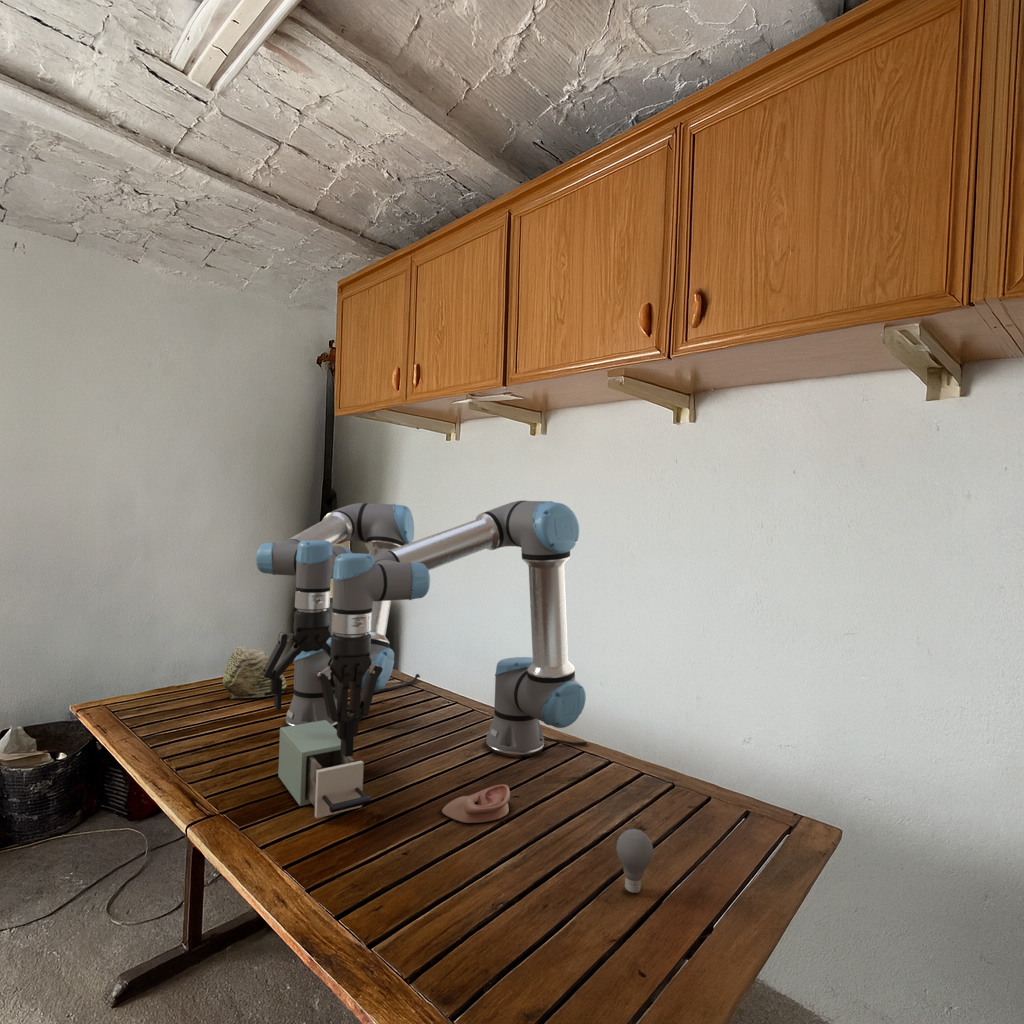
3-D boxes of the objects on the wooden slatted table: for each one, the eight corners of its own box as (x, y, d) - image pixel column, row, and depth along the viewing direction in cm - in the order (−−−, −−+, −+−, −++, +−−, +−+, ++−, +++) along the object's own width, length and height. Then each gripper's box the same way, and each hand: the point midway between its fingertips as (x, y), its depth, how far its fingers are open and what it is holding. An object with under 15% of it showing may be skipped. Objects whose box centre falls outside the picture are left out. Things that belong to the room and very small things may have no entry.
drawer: (373, 819, 123) (375, 773, 123) (327, 832, 118) (329, 784, 118) (336, 778, 140) (337, 738, 140) (293, 788, 135) (295, 746, 135)
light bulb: (610, 879, 108) (613, 822, 108) (644, 879, 109) (647, 822, 109) (619, 902, 102) (622, 840, 102) (655, 901, 103) (658, 840, 103)
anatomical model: (437, 799, 126) (454, 775, 137) (436, 818, 126) (453, 793, 138) (502, 808, 124) (514, 783, 135) (501, 828, 124) (513, 801, 135)
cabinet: (349, 794, 135) (351, 743, 135) (300, 806, 129) (302, 752, 129) (324, 766, 148) (325, 719, 148) (278, 776, 142) (280, 727, 142)
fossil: (218, 695, 195) (220, 647, 195) (278, 685, 208) (279, 640, 207) (228, 703, 189) (230, 653, 188) (289, 692, 201) (290, 645, 201)
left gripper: (258, 616, 132) (254, 717, 132) (371, 608, 146) (367, 699, 147) (249, 610, 138) (246, 707, 138) (359, 603, 152) (355, 691, 153)
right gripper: (324, 640, 116) (319, 767, 116) (390, 634, 124) (385, 754, 124) (311, 632, 122) (307, 753, 123) (375, 627, 130) (370, 741, 130)
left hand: (308, 703), depth 142 cm, fingers open, 13 cm apart
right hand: (346, 753), depth 123 cm, fingers closed
